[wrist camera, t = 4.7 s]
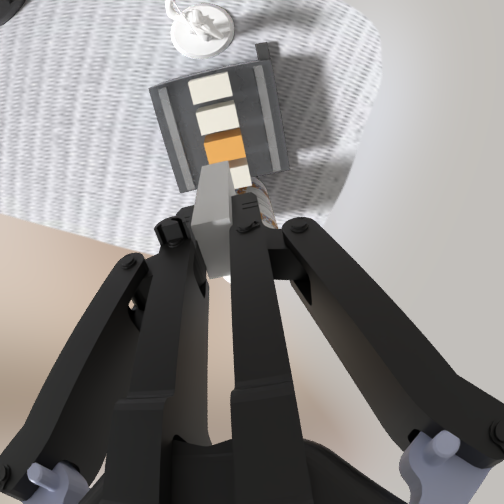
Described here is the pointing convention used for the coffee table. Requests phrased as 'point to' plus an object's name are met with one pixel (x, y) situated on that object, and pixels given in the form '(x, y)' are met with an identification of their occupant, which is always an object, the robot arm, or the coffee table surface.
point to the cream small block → (240, 173)
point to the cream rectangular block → (210, 88)
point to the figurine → (200, 29)
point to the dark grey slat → (262, 51)
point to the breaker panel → (250, 123)
